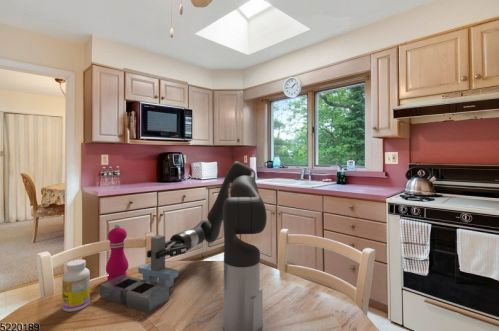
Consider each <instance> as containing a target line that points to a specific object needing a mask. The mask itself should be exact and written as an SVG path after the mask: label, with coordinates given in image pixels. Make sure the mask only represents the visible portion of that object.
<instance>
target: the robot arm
mask: <svg viewBox="0 0 499 331" xmlns="http://www.w3.org/2000/svg"><path fill="white" fill-rule="evenodd" d="M230 184H231V185H230ZM229 189H230V193H229ZM259 193H260V192H259V188H258V185H257V183H256V171H255V170H254V169H253V168H252V167H250V166H247V165H246V164H243V163H242V162H240V161H238V160H236V161H233V162H232V163H231V165H230V167H229V169H228V170H227V173H226V175H225V177H224V179H223V182H222V184H221V186H220V189H219V191H218V193H217V197H216V199H215V201H214V203H213V205H212V206H211V209H210V210H209V212H208V213H207V216H206V218H207V220H206V219H202V220H200V222H199V223H198V224H197V225H196V226H195V227H193V228H190V229H187V230H186V229H185V230H183V231H180V232H178V233H175V234H173V235H172V236H171V237H170V239H169V240H165V250H161V251H158V252H156V253H155V259H159V258H162V257H164V256H165V257H171V258H172V257H175V256H179V255H183V254H186V253H187V252H188V251H189V250H191V249H193V248H194V247H196V246H198V245H201V244H202V243H203V242H204V241H206V242H207V243H214V242H216V241H217V239H218V237H219V235H220V232H221V227H222V223H223V246H224V247H223V307H222V308H223V311H222V312H223V319H222V320H223V331H260V329H261V328H262V326H263V299H264V298H263V297H264V296H263V290H264V289H263V288H260V287H261V286H260V284H261V283H260V282H261V280H260V279H261V252H260V249H259V248H258V246H256V245H254V244H251V243H248V242H246V241H244V240H242V239H240V238H239V237H238V236H237V235H257V234H260V233H262V232H264V230H265V228H266V226H267V218H268V216H267V209H266V205H265V202H264V201H263V199H262V197H261V195H260V194H259ZM229 195H230V197H229ZM146 257H147V258H150V259H151V249H149V250H147V251H146Z"/></svg>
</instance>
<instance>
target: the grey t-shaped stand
mask: <svg viewBox="0 0 499 331" xmlns="http://www.w3.org/2000/svg"><path fill="white" fill-rule="evenodd" d="M165 242H166V236H165V235H161V234H157V235H154V236H152V237H151V238H150V250H151V257H150V263H148V262H147V263H145V264H143V265H140V266H138V270H137V271H138V272H137V273H138V274H141V275H142V280H145V281H149V282H153V283H157V282H158V283H157V284H161V285H165V286H169V289H170V288H171V287H173V286H174V283H175V282H174V281H175V280H174V279H176V278H177V277H179V269H174V268H172V267H171V268H170V267H166V256H164V257H162V258H159V259H155V253H156V252H158V251H161V250H165Z"/></svg>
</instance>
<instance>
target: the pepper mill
mask: <svg viewBox="0 0 499 331" xmlns="http://www.w3.org/2000/svg"><path fill="white" fill-rule="evenodd" d="M127 236H128V235H127V231H126V229H124V228H123V227H121V225H120V223H116V224H114V228H112V229H111V230H109V231H108V234H107V239H108V241H109V248H110V255H109V258H108V260H107V263H106V266H105V271H106V274H107V278H106V279H107V280H106V282H108V281H110V280H112V279H114V278H116V277H118V276H121V275H126V276H128V272H127V271H128V269H129V261H128V258H127V257H126V255H125V245H126V241H125V239H126V238H127ZM108 275H109V276H108Z"/></svg>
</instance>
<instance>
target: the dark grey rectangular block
mask: <svg viewBox="0 0 499 331" xmlns="http://www.w3.org/2000/svg"><path fill="white" fill-rule="evenodd" d="M99 289H100V291H99V292H100V293H99V295H100V296H99V297H100V299H103V300H105V301H108V302H112V303H116V304H119V305H121V306H126V307H129V308H131V309H134V310H137V311H142V312H144V313H148V314H151V313H152V312H154V311H156V309H158V308H159V307H160V306H162V305H164V304H165V303H166V302H168V301H169V300H170V288H169V286H165V285H161V284H158V283H157V282H155V283H153V282H149V281H145V280H143V279H140V278H137V277H134V276H129V275H127V276H126V275H121V276H118V277H116V278H114V279H112V280H110V281H105V282H103V283H101V284H100V285H99Z"/></svg>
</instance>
